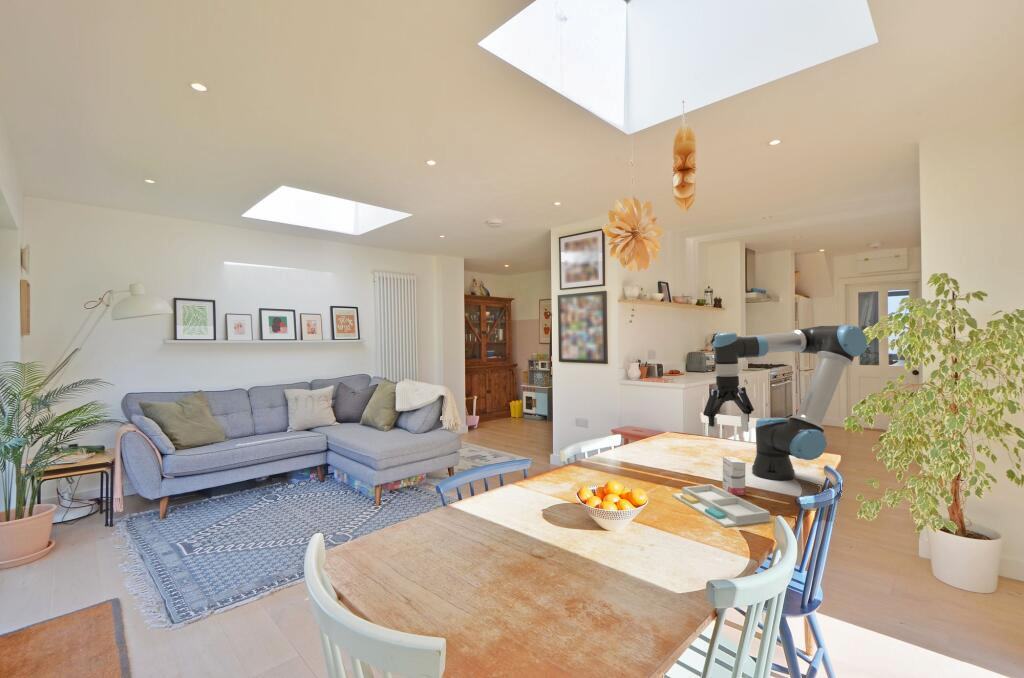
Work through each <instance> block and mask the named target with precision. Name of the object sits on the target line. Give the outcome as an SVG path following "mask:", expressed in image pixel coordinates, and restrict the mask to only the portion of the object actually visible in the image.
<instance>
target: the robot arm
mask: <svg viewBox="0 0 1024 678" xmlns="http://www.w3.org/2000/svg"><path fill="white" fill-rule="evenodd" d="M867 339H868V338H867V337H866V334H865V332H864V331H863V330H862V329H861V328H860V327H859V326H856V325H854V324H853V325H849V324H842V325H841V324H840V325H839V324H838V325H818V326H812V327H811V326H810V327H807V328H800V329H793V330H791V331H790V332H783V333H782V332H780V333H767V334H765V333H764V334H753V335H739V336H738V334H737V333H736V332H724V333H721V332H720V333H716V334H715V335H714V341H713V343H712V349H713V352H714V355H715V358H714V359H715V375H716V377H715V381H716V386H717V389H713V388H712V389H709V397H708V400H707V402H706V405H705V408H704V411H703V413H702V414H703V416H706V417H707V418H708V426H709V428H710V430H709V431H710V435H712V436H715V437H717V436H718V435H719V434H718V419H717V417H716V415H717V414H718V412H719V411H720V409H721V408H722V407H723V406H722V405H723V404H725V403H726V402H730V401H733V402H734V403H735V405H736V406H737V407H738V409H740V411H741V413H740V426H741V427H740V430H741V432H746V433H749V430H750V429H749V423H750V415H751V414H752V412H754V410H755V408H754V407H753V405H752V403H751V400H750V398H749V396H748V394H747V389H746V387H743V386H740V380H739V379H740V378H739V373H740V372H739V359H745V358H746V359H747V358H750V359H751V358H760V357H761V358H762V357H764V356H766V355H767V354H771V353H772V354H773V353H784V352H793V353H795V354H814V355H816V356H817V357H818V361H817V364H816V366H815V369H814V371H813V373H812V375H811V378H810V380H809V383H808V385H807V388H806V390H805V392H804V395H803V397H802V400H801V402H800V404H799V407H798V410H797V411H796V414H795V415H792V416H790V417H789V419H788V418H787V417H764V418H763V417H762V418H758V419H756V422H755V428H754V429H755V443H756V444H755V445H756V449H755V450H756V454H755V458H754V461H753V465H752V467H751V473H752V474H753V475H755V477H758V478H762V479H766V480H767V479H768V480H773V481H789V480H793V479H795V478H796V471H795V469H794V467H793V463H792V461H791V458H790V456H792V457H794V458H796V459H799V460H806V461H813V460H815V459H818V458H819V457H821V456H822V455H823V454H824V452H825V451H826V448H827V446H828V445H827V443H828V442H827V438H826V435H825V434H824V432H825V428H824V426H823V422H824V420H825V417H826V414H827V412H828V409H829V407H830V405H831V402H832V401H833V397H834V395H835V393H836V390H837V389H838V385H839V383H840V380H841V378H842V375H843V372H844V371H845V368H846V367H847V366H850V365H852V363H853V361H854V359H855V358H856V357H861V355H864V354H865V352H866V350H867V347H868V340H867Z"/></svg>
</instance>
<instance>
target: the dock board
mask: <svg viewBox="0 0 1024 678" xmlns="http://www.w3.org/2000/svg"><path fill="white" fill-rule="evenodd" d="M672 498H675V499H676V500H678V501H680V502H681V503H683V504H685V505H686V506H688V507H690V508H691V509H694V510H695V511H697V512H698V513H700V514H702V515H703V516H705V517H706V518H708V519H711V520H712V521H714V522H715V523H717V524H719V525H720V526H722V527H724V528H730V527H736V526H737V527H738V526H743V525H745V526H746V525H751V524H757V523H766V522H770V521H771V512H770V511H769V510H767V509H765V508H762V507H760V506H758V505H756V504H754V503H751V502H750V501H747V500H745V499H743V498H741V497H739V496H738V495H733V494H731V493H729V492H728V491H726V490H725V489H724V488H723V489H722V488H720V487H718V486H716V485H714V484H712V483H708V484H699V485H693V486H682V487H681V492H680V493H672Z"/></svg>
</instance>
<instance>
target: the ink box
mask: <svg viewBox="0 0 1024 678" xmlns="http://www.w3.org/2000/svg"><path fill="white" fill-rule="evenodd" d="M722 488H723V490H725V491H727V492H729V493H731V494H733V495H735V496H746V462H745V461H743V460H741V459H739V458H737V457H735V456H727V455H726V456H723V457H722Z"/></svg>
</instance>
